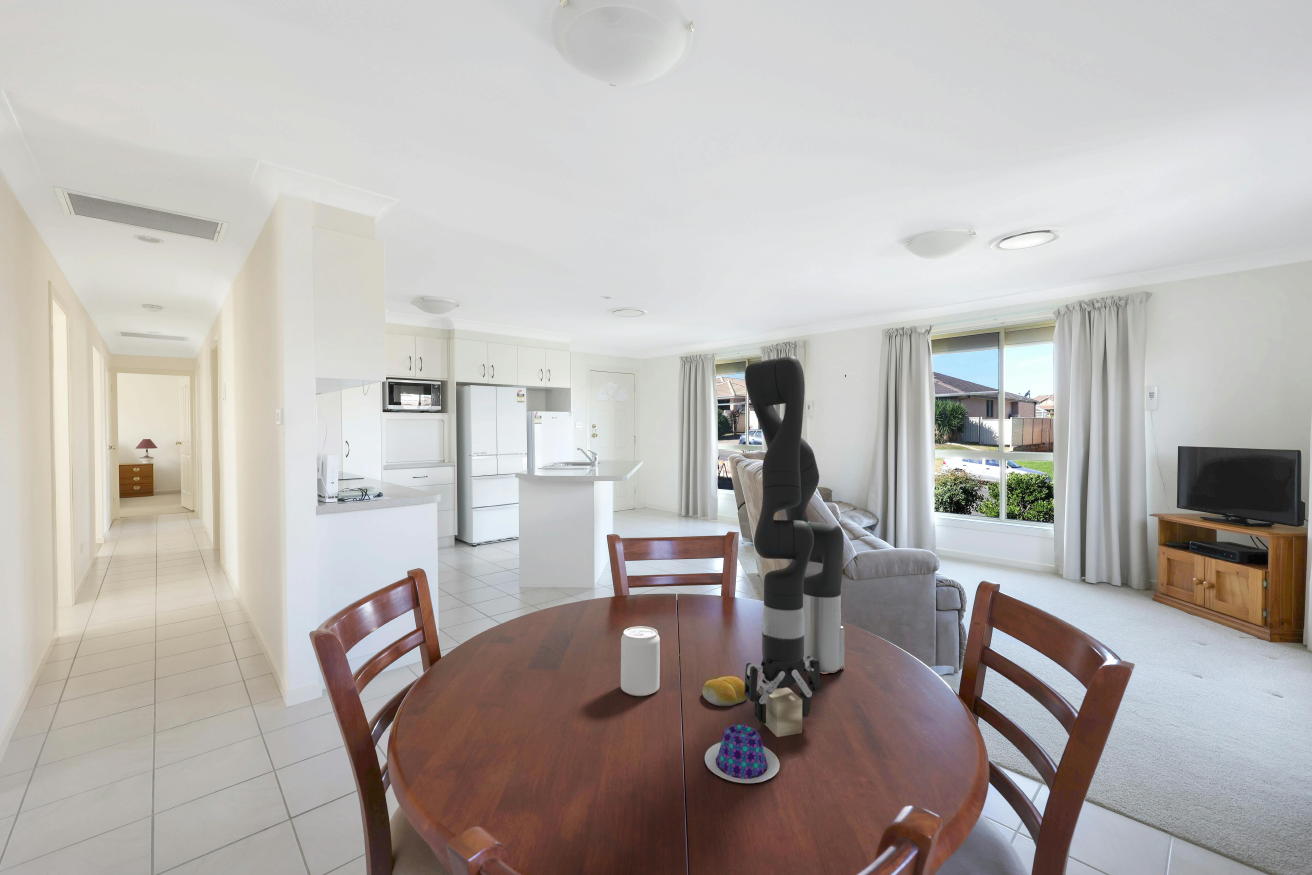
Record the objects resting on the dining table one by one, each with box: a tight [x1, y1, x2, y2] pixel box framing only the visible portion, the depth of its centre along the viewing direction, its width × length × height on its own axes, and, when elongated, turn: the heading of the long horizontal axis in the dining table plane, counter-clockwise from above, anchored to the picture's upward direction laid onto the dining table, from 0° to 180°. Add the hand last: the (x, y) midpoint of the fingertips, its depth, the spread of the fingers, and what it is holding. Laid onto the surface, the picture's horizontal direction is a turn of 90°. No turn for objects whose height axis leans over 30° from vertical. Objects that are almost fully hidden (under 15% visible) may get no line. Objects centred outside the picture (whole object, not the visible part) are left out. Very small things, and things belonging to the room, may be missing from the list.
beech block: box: [764, 687, 803, 738], centre depth 101 cm, size 5×5×6 cm
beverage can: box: [620, 625, 661, 697], centre depth 116 cm, size 8×8×12 cm
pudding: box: [704, 724, 781, 784], centre depth 90 cm, size 12×12×5 cm
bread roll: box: [702, 675, 748, 707], centre depth 113 cm, size 8×9×4 cm
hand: (782, 718), depth 101 cm, fingers open, 8 cm apart
